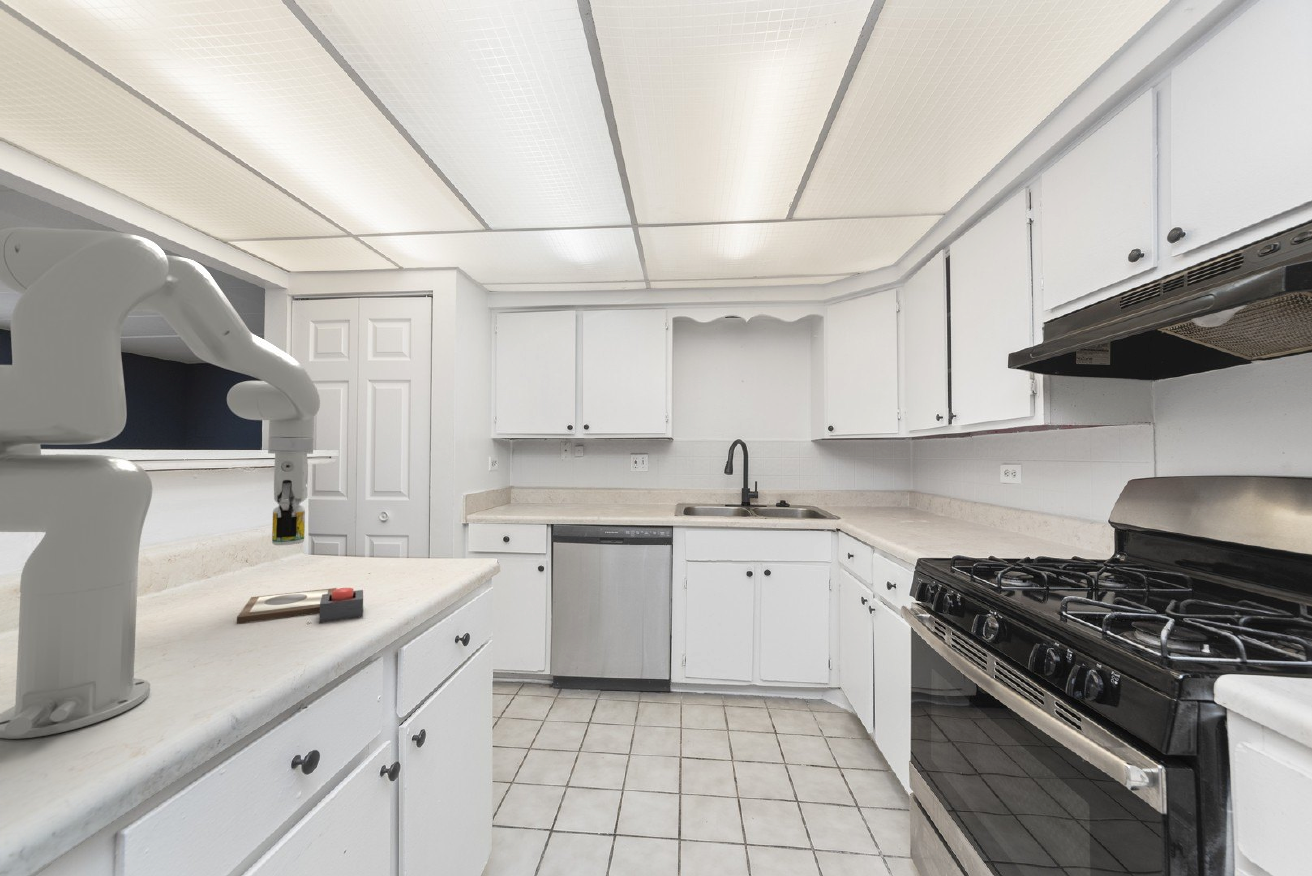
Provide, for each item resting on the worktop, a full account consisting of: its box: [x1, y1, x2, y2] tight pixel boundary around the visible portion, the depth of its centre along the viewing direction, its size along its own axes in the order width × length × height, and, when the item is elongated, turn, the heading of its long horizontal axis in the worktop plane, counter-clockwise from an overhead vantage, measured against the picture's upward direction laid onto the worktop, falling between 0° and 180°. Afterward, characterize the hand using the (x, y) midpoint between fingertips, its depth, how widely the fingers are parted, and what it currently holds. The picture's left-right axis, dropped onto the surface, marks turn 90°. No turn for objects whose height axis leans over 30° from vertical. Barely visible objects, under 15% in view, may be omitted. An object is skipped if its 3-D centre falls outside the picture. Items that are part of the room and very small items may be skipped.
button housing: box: [318, 589, 364, 624], centre depth 97 cm, size 7×7×4 cm
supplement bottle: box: [271, 497, 306, 546], centre depth 102 cm, size 5×5×10 cm
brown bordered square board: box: [236, 587, 338, 624], centre depth 101 cm, size 14×15×2 cm
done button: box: [332, 587, 354, 601], centre depth 97 cm, size 4×4×2 cm
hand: (288, 533), depth 102 cm, fingers closed on supplement bottle, 5 cm apart
